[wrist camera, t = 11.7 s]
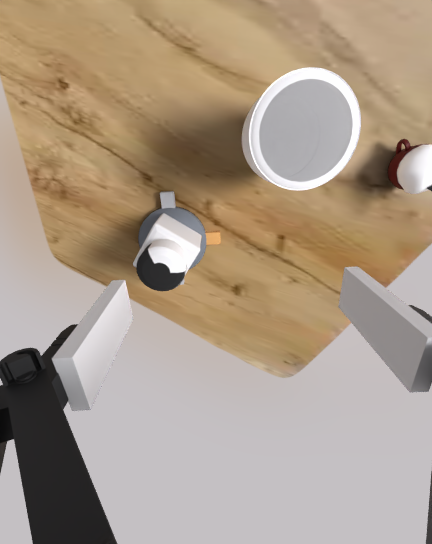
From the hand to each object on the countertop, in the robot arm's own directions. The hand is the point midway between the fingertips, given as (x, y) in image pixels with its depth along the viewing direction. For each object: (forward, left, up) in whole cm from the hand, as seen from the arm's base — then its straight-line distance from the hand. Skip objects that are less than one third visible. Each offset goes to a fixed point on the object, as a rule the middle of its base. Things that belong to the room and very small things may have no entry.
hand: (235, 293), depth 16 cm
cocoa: (-4, +28, -29) cm, 41 cm away
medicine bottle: (+5, -8, -28) cm, 29 cm away
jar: (-9, +8, -29) cm, 31 cm away
